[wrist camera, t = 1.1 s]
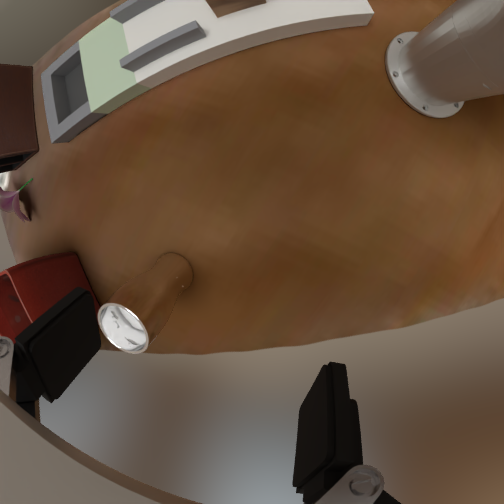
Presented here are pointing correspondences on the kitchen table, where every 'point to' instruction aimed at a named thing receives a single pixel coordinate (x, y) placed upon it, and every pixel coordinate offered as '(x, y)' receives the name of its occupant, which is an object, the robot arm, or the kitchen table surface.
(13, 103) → the letter holder
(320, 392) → the robot arm
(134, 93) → the channel deck
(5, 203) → the lily
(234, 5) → the walnut block
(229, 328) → the kitchen table surface
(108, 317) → the beer glass
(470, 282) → the kitchen table surface
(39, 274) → the plant pot
